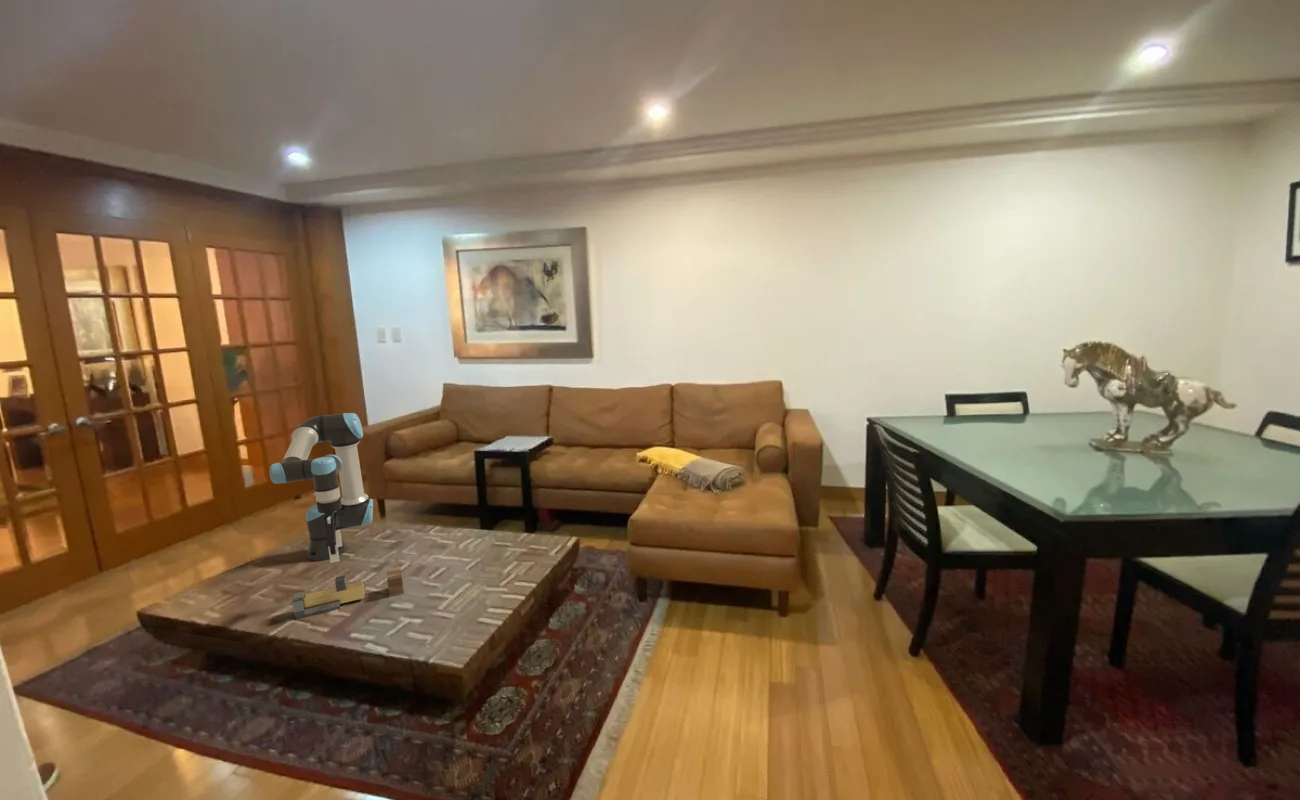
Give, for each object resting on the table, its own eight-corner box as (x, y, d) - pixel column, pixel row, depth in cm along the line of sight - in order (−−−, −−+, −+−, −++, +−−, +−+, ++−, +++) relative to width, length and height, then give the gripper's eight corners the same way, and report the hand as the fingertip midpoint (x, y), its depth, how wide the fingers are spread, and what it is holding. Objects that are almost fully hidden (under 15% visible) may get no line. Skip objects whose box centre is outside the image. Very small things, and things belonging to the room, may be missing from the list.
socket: (389, 588, 208) (386, 569, 206) (403, 584, 210) (400, 566, 208) (389, 596, 201) (386, 577, 200) (403, 593, 204) (401, 574, 202)
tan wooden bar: (297, 609, 193) (293, 586, 191) (364, 593, 202) (361, 571, 201) (295, 614, 189) (291, 591, 188) (364, 598, 199) (361, 576, 197)
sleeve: (298, 610, 194) (295, 592, 193) (341, 600, 200) (338, 582, 199) (295, 619, 189) (292, 600, 187) (340, 608, 195) (337, 590, 193)
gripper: (320, 491, 200) (328, 543, 204) (312, 513, 178) (321, 571, 181) (342, 487, 203) (350, 539, 207) (337, 508, 181) (345, 565, 185)
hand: (336, 554), depth 194 cm, fingers open, 13 cm apart
